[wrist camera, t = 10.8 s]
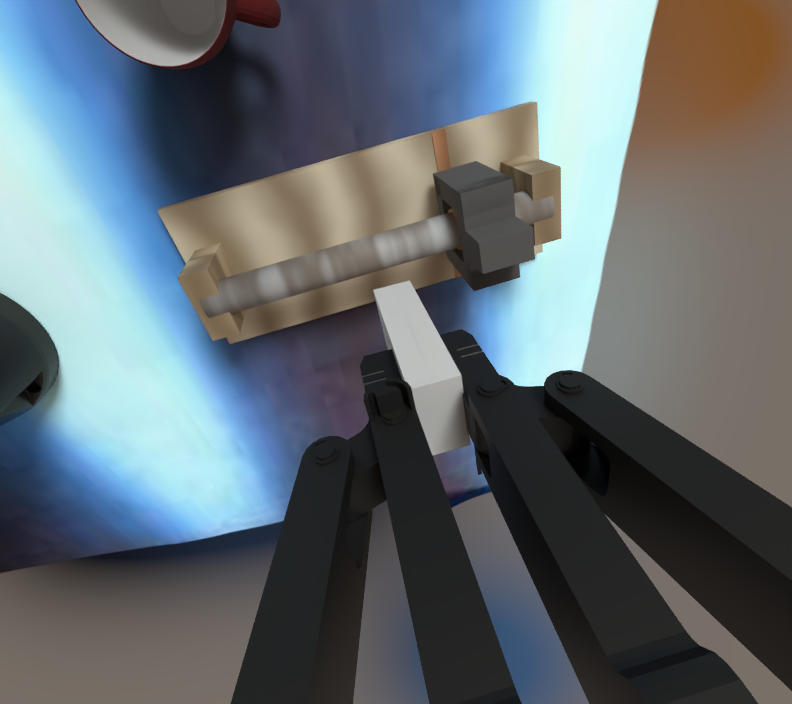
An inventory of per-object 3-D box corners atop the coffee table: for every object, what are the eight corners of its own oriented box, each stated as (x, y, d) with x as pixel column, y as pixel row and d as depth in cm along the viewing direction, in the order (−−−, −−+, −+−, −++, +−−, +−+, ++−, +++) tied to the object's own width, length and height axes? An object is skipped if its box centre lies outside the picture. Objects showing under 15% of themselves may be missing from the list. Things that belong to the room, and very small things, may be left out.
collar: (447, 257, 42) (486, 307, 33) (432, 173, 38) (473, 203, 28) (485, 246, 42) (536, 292, 33) (476, 160, 38) (531, 187, 29)
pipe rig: (231, 338, 45) (218, 384, 38) (161, 207, 37) (129, 236, 31) (537, 247, 46) (578, 277, 39) (530, 101, 38) (580, 106, 31)
